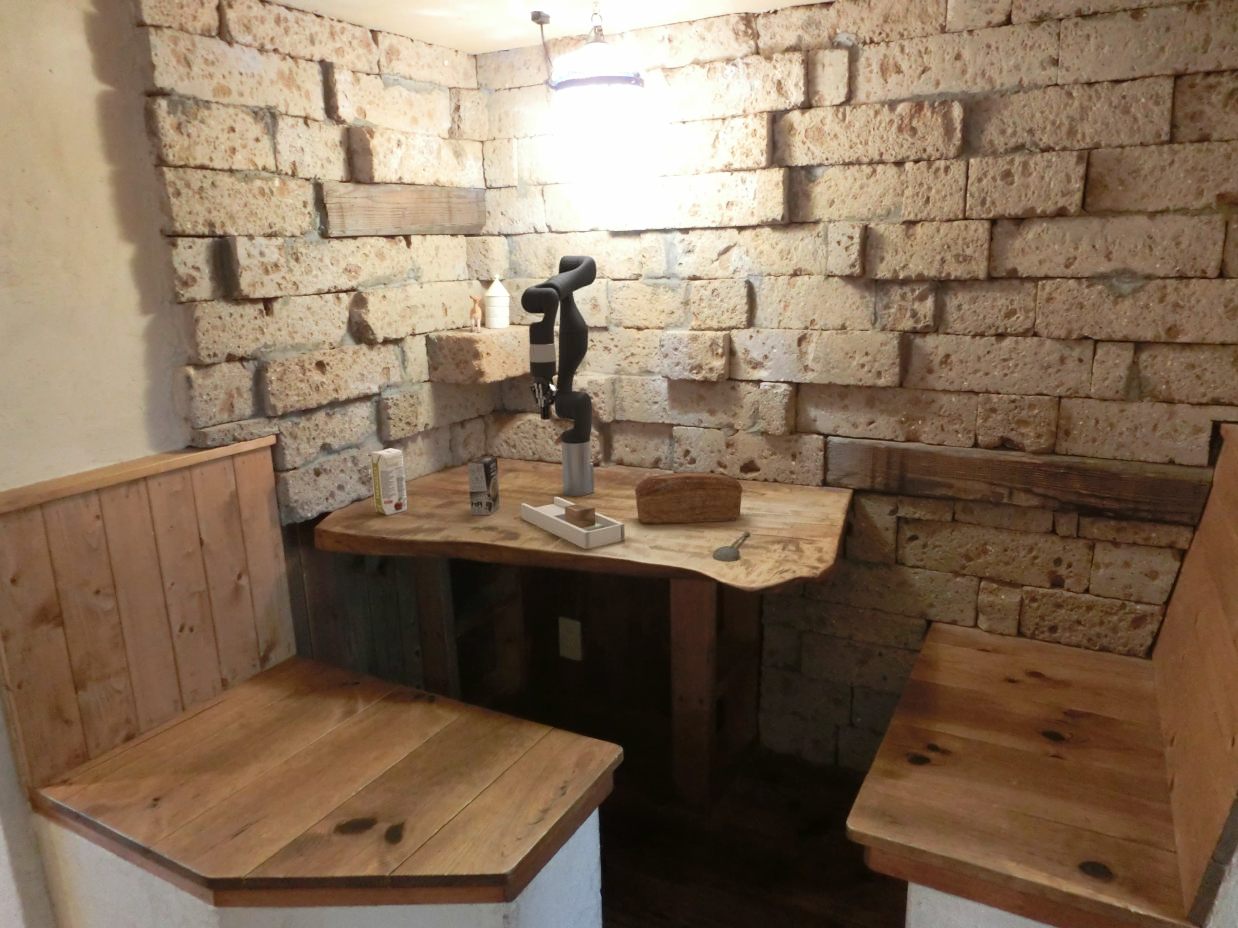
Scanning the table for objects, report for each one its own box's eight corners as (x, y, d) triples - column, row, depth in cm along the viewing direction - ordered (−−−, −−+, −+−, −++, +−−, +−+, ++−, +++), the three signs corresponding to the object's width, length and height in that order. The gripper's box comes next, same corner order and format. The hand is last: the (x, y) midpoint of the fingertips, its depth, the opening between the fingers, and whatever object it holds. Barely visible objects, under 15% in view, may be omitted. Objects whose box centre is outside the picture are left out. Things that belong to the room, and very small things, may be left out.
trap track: (557, 510, 257) (557, 496, 256) (624, 539, 229) (624, 523, 228) (521, 518, 250) (521, 503, 249) (586, 549, 222) (585, 532, 221)
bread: (745, 523, 242) (745, 477, 238) (637, 527, 240) (636, 481, 237) (737, 511, 253) (737, 467, 250) (634, 514, 252) (633, 470, 249)
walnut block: (583, 519, 239) (583, 502, 238) (595, 524, 234) (594, 507, 233) (565, 523, 236) (564, 506, 235) (576, 528, 231) (576, 511, 230)
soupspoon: (708, 563, 213) (734, 568, 210) (709, 551, 212) (734, 556, 209) (736, 535, 232) (759, 539, 229) (736, 523, 231) (760, 527, 228)
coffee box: (490, 515, 254) (487, 463, 250) (470, 514, 255) (466, 462, 251) (500, 507, 262) (498, 456, 258) (481, 506, 263) (477, 455, 260)
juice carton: (410, 510, 261) (405, 450, 256) (386, 516, 255) (380, 455, 250) (396, 506, 266) (391, 446, 261) (372, 512, 260) (366, 451, 255)
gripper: (566, 360, 239) (568, 420, 243) (542, 356, 249) (545, 414, 253) (542, 362, 235) (545, 424, 239) (520, 358, 245) (522, 417, 249)
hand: (545, 419), depth 246 cm, fingers closed
